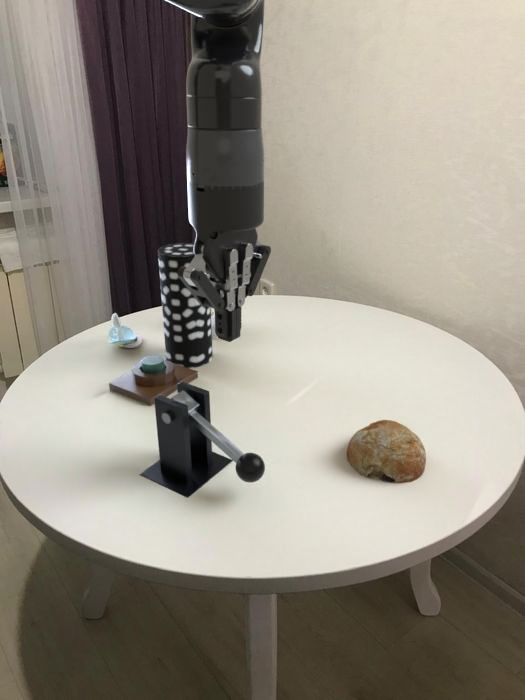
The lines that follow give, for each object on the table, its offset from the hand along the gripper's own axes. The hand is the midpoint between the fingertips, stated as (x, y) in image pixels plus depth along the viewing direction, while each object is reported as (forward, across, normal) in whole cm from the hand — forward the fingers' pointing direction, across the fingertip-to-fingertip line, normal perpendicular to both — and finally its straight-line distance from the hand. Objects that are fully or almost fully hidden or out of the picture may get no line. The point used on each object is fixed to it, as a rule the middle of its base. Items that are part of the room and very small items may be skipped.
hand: (228, 338), depth 65 cm
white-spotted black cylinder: (+20, -24, -29) cm, 43 cm away
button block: (+20, -12, -25) cm, 35 cm away
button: (+17, -12, -25) cm, 33 cm away
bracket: (+20, +2, -6) cm, 21 cm away
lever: (+14, +1, -2) cm, 14 cm away
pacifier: (+20, -21, -43) cm, 52 cm away
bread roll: (+20, -15, +14) cm, 29 cm away
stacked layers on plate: (+20, -36, -37) cm, 55 cm away
